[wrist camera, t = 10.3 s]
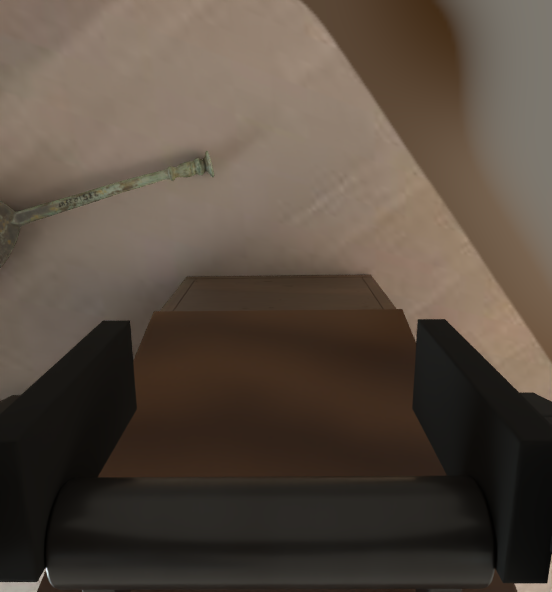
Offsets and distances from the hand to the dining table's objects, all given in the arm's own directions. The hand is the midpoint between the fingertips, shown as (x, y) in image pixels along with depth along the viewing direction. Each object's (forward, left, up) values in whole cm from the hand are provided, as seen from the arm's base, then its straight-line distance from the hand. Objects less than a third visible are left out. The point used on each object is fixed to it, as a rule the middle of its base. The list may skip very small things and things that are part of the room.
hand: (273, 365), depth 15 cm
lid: (0, -6, -4) cm, 7 cm away
